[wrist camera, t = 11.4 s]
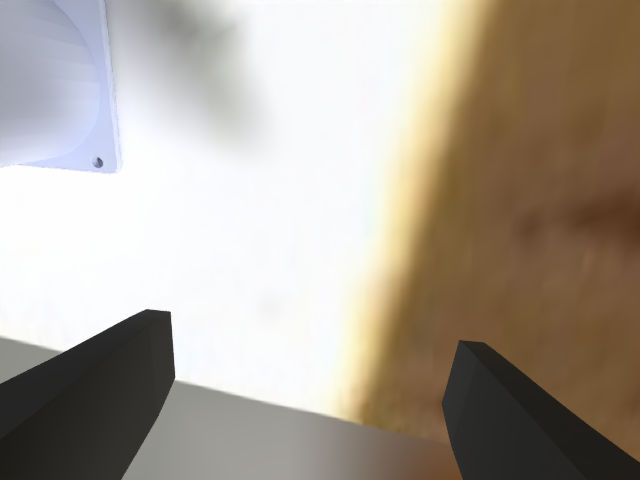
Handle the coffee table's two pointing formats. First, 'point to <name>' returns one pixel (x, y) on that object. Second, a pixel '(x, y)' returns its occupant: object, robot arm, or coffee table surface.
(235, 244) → the coffee table surface
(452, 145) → the coffee table surface
